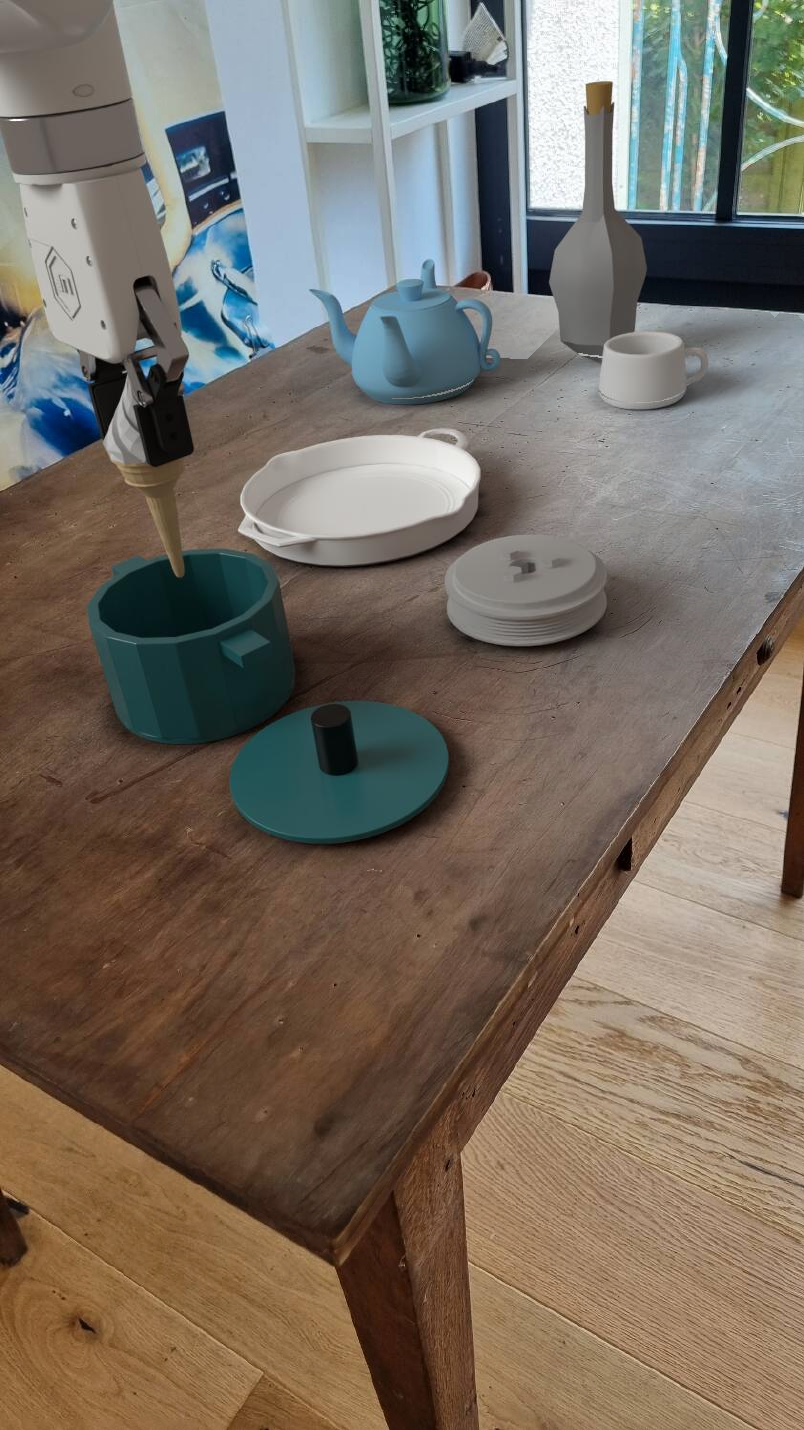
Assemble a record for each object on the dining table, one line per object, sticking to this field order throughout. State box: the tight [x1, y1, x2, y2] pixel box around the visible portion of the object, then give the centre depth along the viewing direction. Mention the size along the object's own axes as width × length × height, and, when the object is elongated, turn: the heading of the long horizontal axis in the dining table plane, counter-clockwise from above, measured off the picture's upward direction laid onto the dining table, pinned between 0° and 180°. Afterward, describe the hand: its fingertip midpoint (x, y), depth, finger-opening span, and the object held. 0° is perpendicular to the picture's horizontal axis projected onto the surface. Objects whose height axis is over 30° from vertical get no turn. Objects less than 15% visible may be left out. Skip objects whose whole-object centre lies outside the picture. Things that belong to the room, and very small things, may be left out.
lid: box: [444, 533, 608, 647], centre depth 87 cm, size 13×13×5 cm
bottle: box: [548, 80, 648, 363], centre depth 127 cm, size 11×11×30 cm
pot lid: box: [228, 700, 450, 845], centre depth 73 cm, size 15×15×5 cm
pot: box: [86, 548, 297, 745], centre depth 82 cm, size 14×19×8 cm
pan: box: [237, 427, 482, 568], centre depth 106 cm, size 24×27×4 cm
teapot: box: [308, 258, 502, 406], centre depth 132 cm, size 17×19×12 cm
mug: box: [598, 330, 709, 410], centre depth 123 cm, size 12×10×6 cm
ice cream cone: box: [102, 374, 186, 578], centre depth 74 cm, size 6×6×15 cm
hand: (147, 445), depth 73 cm, fingers closed on ice cream cone, 5 cm apart
